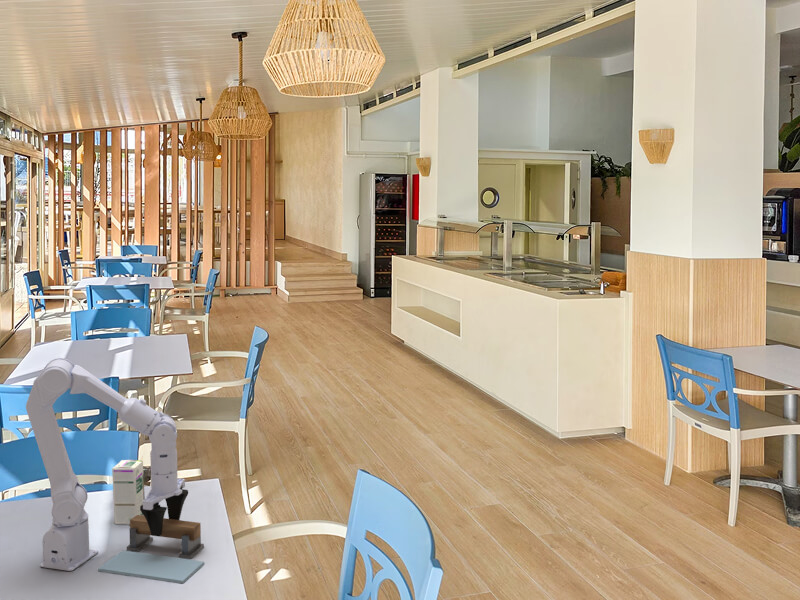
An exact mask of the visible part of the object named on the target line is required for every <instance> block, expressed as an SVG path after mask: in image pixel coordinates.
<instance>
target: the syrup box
mask: <svg viewBox="0 0 800 600" xmlns="http://www.w3.org/2000/svg"><path fill="white" fill-rule="evenodd" d="M111 471H112V473H111V475H112V492H113V493H112V495H113V497H112V498H113V517H114V524H115V525H130V520H131V519H132V518H134V517H135V516H137V515H142V516H144V515H143V513H142V512H141V511H140V506H141V505H143V500H145V499H146V498H145V477H144V474H145V473H144V461H143V460H138V459H121V460H120V461H119V462H118V463H117V464H115V466H113V467H112V468H111Z"/></svg>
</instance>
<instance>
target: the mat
mask: <svg viewBox="0 0 800 600" xmlns="http://www.w3.org/2000/svg"><path fill="white" fill-rule="evenodd" d="M204 565H205V561H201V560H195V559H188V558H181V557H173V556H167V555H159V554H151V553H146V552H145V553H144V552H137V551H130V550H121V551H119V553H117V554H116V555H114V556H113V557H112V558H110V559H109V560H108V561H106V562H105V563H103V564H102V565H100V566H99V567H98V568H97V571H98V572H102V573H109V574H115V575H122V576H130V577H136V578H144V579H148V580H149V579H150V580H156V581H163V582H171V583H177V584H184V583H185V582H186V581H188V579H190V578H191V577H192V576H193V575H194V574H195V573H196V572H198V570H200V569H201V568H202V567H203V566H204Z"/></svg>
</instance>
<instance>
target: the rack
mask: <svg viewBox="0 0 800 600" xmlns="http://www.w3.org/2000/svg"><path fill="white" fill-rule="evenodd" d="M201 537H202V535H201V536H199V537H198V538H197V539H196V540H195V541H190V535H185V534H183V535H182V539H181V551H180V552H179V553H178V558H182V559H189V560H192V559H193V558H194V557H195V556H196V555H197V554H199V553H200V552H201V551H203V549H204V548H205V544H204V543H202V542H201V541H202V540H201V539H202V538H201ZM152 542H154V536H151V535H145V534H138V528H130V527H129V544H128V545H127V546H126V551H131V552H138V553H140V551H142V550H143V549H144V548H145V547H147V546H148V545H150V544H151V543H152Z"/></svg>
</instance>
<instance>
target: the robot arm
mask: <svg viewBox="0 0 800 600" xmlns="http://www.w3.org/2000/svg"><path fill="white" fill-rule="evenodd" d="M68 390H70V392H69V394H70V395H75V394H76V395H77V394H86V395H88V396H89V397H91V398H94V399H95V400H97V401H99V402H100V403H102V404H104V405H105V406H107V407H110V408H111V409H113V410H115V411H116V412H117V414H118V419H119V420H120V421H121V422H122V423H124V424H126V425H127V426H129V427H130V428H132V429H134V430H135V431H137V432H139V433H140V434H142V435H144V436H148V439H149V442H150V443H151V444H150V445H151V448H150V449H151V450H150V452H149V453H150V455H149V457H150V459H149V460H150V488H151V489H150V491H149V493H148V494H147V496H146V498H145V500H143V505H141V506H140V511H141V512H142V513H143V515H144V516H145V518H146V520H147V523H148V525H149V528H150V532H151V535H150V536H151V537H160V536H161V534H162V528H163V518H165V514H166V511H167V517H168V519H174V520H180V519H181V515H182V511H183V507H184V504H185V502H186V501H185V500H186V498H187V497H188V495H189V490H188V489H185V488H186V478H178V450H177V438H178V432H177V423H176V422H175V420H174V419H173V418H172V417H171V415H169V414H165V413H164V412H163V411H159V412H158V411H157V410H156V409H154V408H152V406H149V405H148V404H147V400H146V399H144V398H140V399H138V398H137V397H131V398H126V397H125V396H123V395H122V394H121V393H119V392H118V391H116V390H115V389H113V388H112V387H110V385H108V384H106V383H105V382H104V381H102V380H101V379H99V378H97V377H96V376H95V375H94V374H92V373H91V372H89V371H88V370H86V369H85V368H84V367H82V366H80V365H78V364H75V365H74V363H73V362H72V361H71V360H69V359H67V358H63V357H58V358H57V357H56V358H53V359H51V360H50V361H49V362H48V363H47V364H46V365H45V367H44V368H43V369H42V370H41V371H40V372H39V374H38V375H37V376H36V378H35V379H34V381H33V383H32V387H31V390H30V393H29V395H28V398H27V401H26V403H25V409H26V413H27V416H28V418H29V423H30V425H31V429H32V431H33V434H34V439H35V441H36V443H37V446H38V450H39V452H40V456H41V459H42V463H43V466H44V468H45V472H46V475H47V477H48V481H49V484H50V497H51V501H52V508H51V516H52V520H51V521H52V524H51V526H50V528H49V529H48V530H47V531H46V532H45V533H44V535H43V536H42V542H41V543H42V562H41V563H40V564H39V567H42V568H46V569H47V568H48V569H53V570H54V569H55V570H60V571H65V572H67V571H68V572H72V571H75V570H76V569H77V568H78V567H80V566H81V565H83V564H85V562H87V561H88V560H90V559H91V558H93V557H94V556H96V555H97V554H98V553H99V551H98V550H97V549H90V530H89V529H90V526H89V525H90V524H89V513H88V512H86V509H85V507H86V503H87V501H88V491H87V489H86V488H85V487H84V486H83V485H82V484H81V483H80V482H79V479H78V476H77V475H76V474H75V472H74V469H73V468H72V464H71V461H70V458H69V457H70V456H69V455H68V452H67V449H66V445H65V442H64V440H63V436H62V433H61V429H60V426H59V424H58V420H57V417H56V414H55V411H54V407H53V405H54V404H55V403H56V401H57V400H58V398H59V397H61V396H62V395H63V394H65V393H66V392H67V391H68ZM164 500H165V503H166V506H161V504H160V502H162V501H164Z"/></svg>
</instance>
